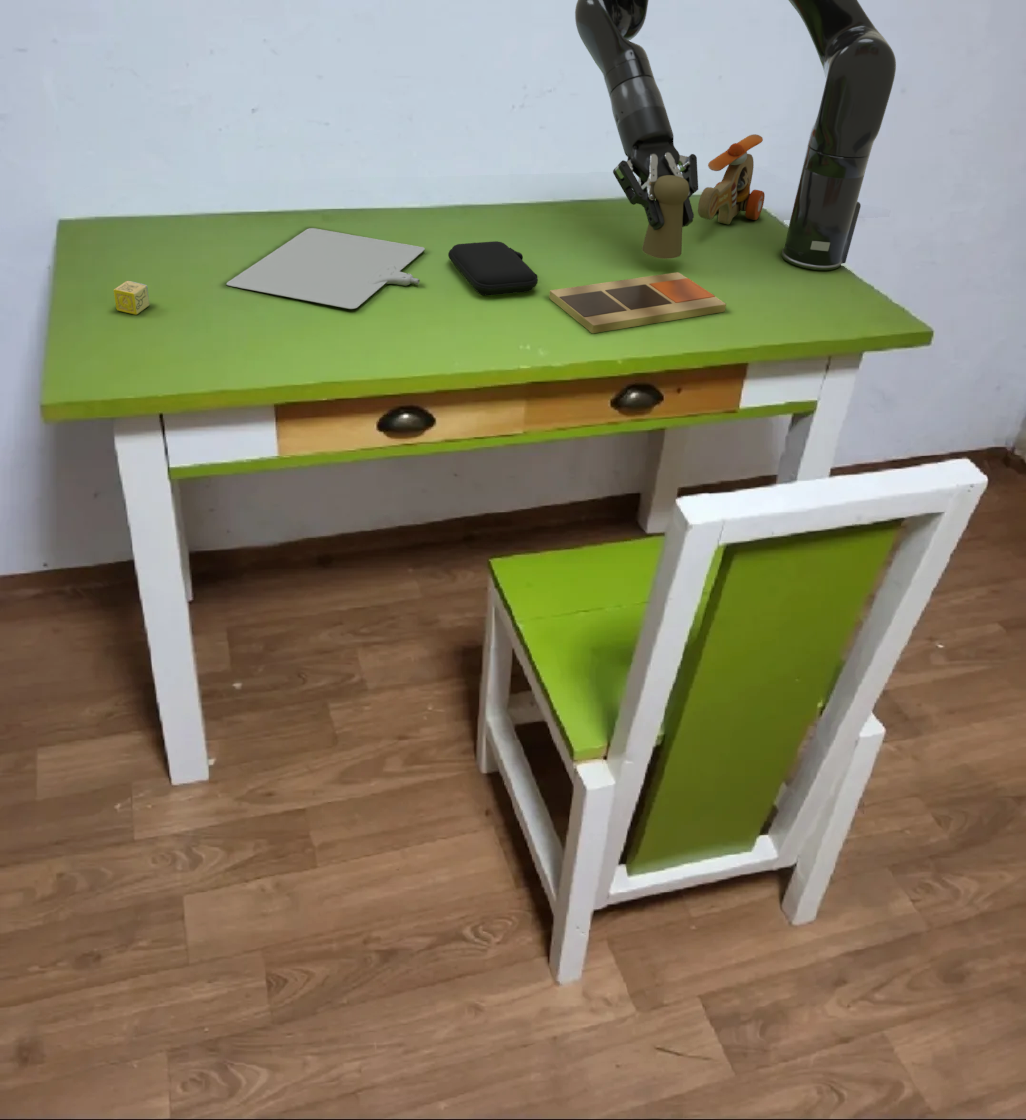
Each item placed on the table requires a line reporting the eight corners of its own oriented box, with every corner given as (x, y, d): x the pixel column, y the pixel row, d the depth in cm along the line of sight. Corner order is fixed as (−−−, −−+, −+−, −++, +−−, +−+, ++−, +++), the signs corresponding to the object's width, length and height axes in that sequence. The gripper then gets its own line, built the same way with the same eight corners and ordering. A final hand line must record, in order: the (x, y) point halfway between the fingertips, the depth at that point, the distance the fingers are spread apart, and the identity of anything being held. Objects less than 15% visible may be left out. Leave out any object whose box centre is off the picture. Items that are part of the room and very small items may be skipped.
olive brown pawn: (680, 260, 158) (692, 186, 151) (639, 255, 158) (650, 181, 152) (682, 246, 162) (695, 174, 156) (643, 241, 163) (654, 168, 156)
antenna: (381, 319, 140) (381, 310, 139) (224, 288, 145) (223, 280, 145) (450, 256, 159) (451, 248, 158) (309, 231, 164) (309, 224, 164)
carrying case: (548, 294, 150) (510, 255, 161) (550, 274, 149) (512, 236, 159) (478, 301, 147) (444, 260, 158) (479, 280, 145) (444, 241, 156)
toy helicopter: (763, 215, 185) (781, 133, 176) (721, 249, 170) (738, 162, 162) (719, 204, 188) (734, 123, 179) (674, 237, 173) (689, 150, 165)
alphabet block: (150, 306, 138) (147, 284, 136) (137, 315, 136) (133, 292, 134) (129, 302, 139) (126, 279, 137) (116, 311, 136) (112, 288, 134)
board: (676, 279, 158) (678, 271, 158) (724, 311, 150) (726, 303, 149) (548, 298, 149) (549, 289, 149) (592, 333, 141) (593, 324, 140)
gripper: (611, 106, 151) (645, 219, 150) (693, 100, 157) (726, 209, 156) (588, 134, 158) (621, 242, 157) (668, 128, 164) (699, 232, 163)
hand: (673, 225), depth 156 cm, fingers closed on olive brown pawn, 4 cm apart
